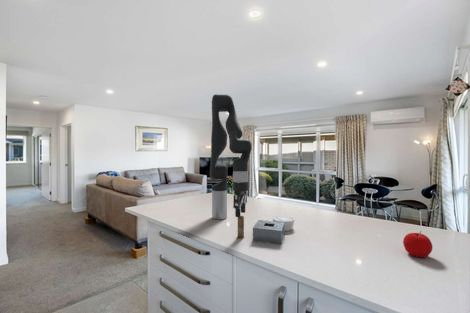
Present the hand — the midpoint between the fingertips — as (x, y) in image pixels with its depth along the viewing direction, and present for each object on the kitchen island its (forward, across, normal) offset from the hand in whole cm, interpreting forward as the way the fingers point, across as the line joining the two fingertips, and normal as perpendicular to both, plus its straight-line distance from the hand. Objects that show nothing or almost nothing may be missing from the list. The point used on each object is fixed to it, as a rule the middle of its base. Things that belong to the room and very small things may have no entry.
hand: (240, 214), depth 110 cm
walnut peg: (+11, 0, 0) cm, 11 cm away
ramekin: (+11, -20, +18) cm, 29 cm away
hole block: (+11, -4, +13) cm, 18 cm away
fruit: (+12, -4, +72) cm, 73 cm away
